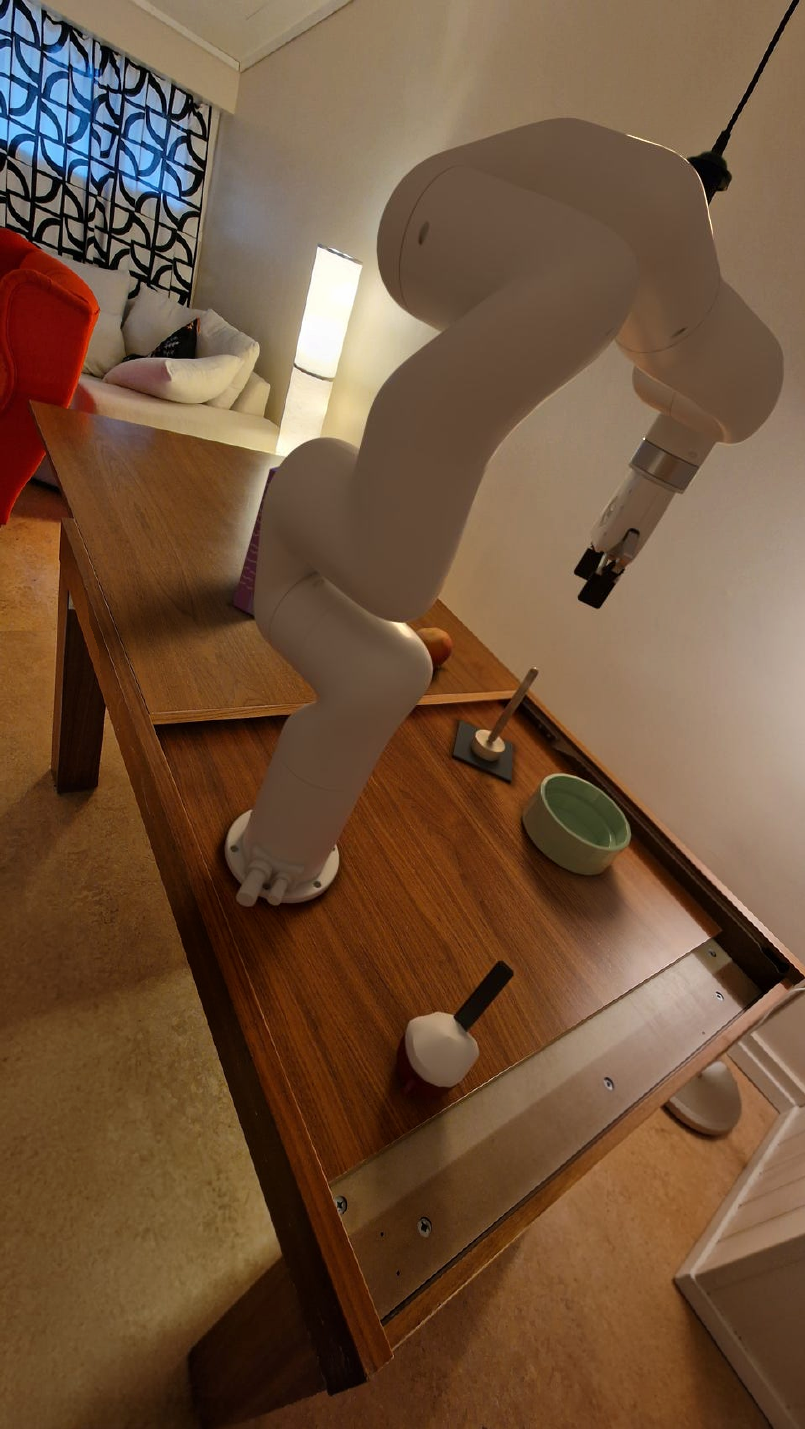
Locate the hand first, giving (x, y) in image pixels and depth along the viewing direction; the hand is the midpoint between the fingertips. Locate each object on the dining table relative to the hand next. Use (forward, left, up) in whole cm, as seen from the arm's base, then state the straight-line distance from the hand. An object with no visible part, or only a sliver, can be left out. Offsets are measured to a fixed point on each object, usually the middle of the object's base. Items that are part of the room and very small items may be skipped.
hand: (585, 590), depth 84 cm
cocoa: (-52, +2, -31) cm, 60 cm away
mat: (0, 0, -30) cm, 30 cm away
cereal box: (+17, +44, -31) cm, 56 cm away
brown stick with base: (0, 0, -30) cm, 30 cm away
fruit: (+19, +14, -31) cm, 39 cm away
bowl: (-12, -14, -30) cm, 35 cm away
